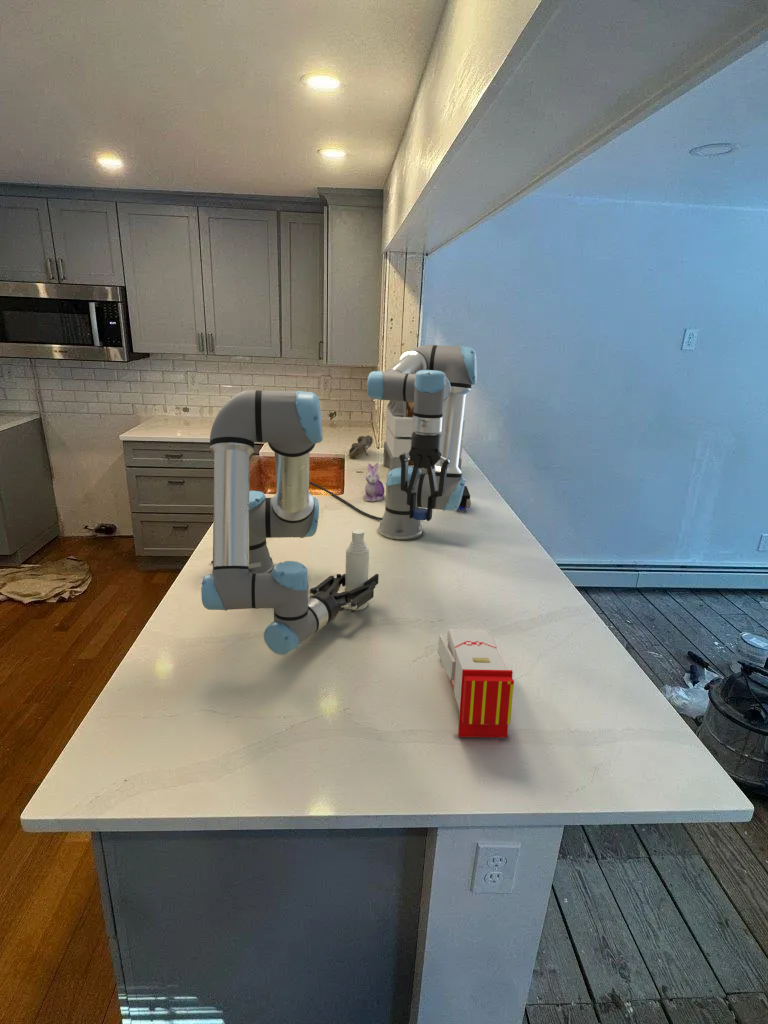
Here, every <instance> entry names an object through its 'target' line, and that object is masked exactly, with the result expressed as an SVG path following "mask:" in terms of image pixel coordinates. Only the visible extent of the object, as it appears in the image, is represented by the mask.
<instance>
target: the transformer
mask: <svg viewBox="0 0 768 1024" xmlns="http://www.w3.org/2000/svg"><path fill="white" fill-rule="evenodd" d="M388 401H389V402H388V404H387V405H386V413H385V414H386V415H385V423H386V428H385V438H384V442H383V466H384V467H388V468H389V472H390V471H391V470H393V469H396V468H401V461H400V458H399V456H400V455H401V454H403V453H409V451H410V449H411V440H412V433H413V432H414V431H413V430H412V425H413V411H414V402H404V401H390V400H388ZM464 429H465V419H464V418H463V425H462V435H461V444H460V454H459V463H458V468H459V469H460V470H461V471H462V461H463V460H462V453H463V442H464V441H463V440H462V439H463V438H464V431H465V430H464ZM413 466H414V463H413V461H412V459H411V457H409V460H408V467H413Z"/></svg>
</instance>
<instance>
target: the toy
mask: <svg viewBox="0 0 768 1024" xmlns="http://www.w3.org/2000/svg"><path fill="white" fill-rule="evenodd" d="M446 640H447V643H446V641H445V639H444V636H443V635H442V634H439V637H438V646H437V656H438V657H439V659H440V661H441V663H442V666H443V668H444V670H445V672H446V674H447V677H448V679H449V681H450V684H451V687H452V690H453V693H454V697H455V701H456V705H457V708H458V711H459V714H458V715H459V716H458V730H457V731H458V732H457V737H458V738H508V731H509V726H510V725H511V717H512V707H513V697H514V696H513V695H514V684H515V680H514V679H513V673H514V671H513V670H512V669H508V667H507V665H506V662H505V661H504V659H503V658H502V655H501V653H500V651H499V649H498V647H497V643H496V639H495V637H494V635H493V634H491V632H490V631H489V629H467V628H466V629H465V628H463V629H461V628H460V629H459V628H448V630H447V639H446Z"/></svg>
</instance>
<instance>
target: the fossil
mask: <svg viewBox="0 0 768 1024" xmlns="http://www.w3.org/2000/svg"><path fill="white" fill-rule="evenodd" d="M373 443H374V442H373V437H372V436H371V435H366V436H365V435H361V436H358V437H357V442H353V443H352V444H351V447H350V448H349V450H348V457H349V459H353V460H354V459H356V458H358V457H360V456H361V455H363V454H366V456H368V455H369V454H368V452H367V450H368V449H369V448H371V446H372V444H373Z"/></svg>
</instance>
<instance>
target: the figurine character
mask: <svg viewBox="0 0 768 1024" xmlns="http://www.w3.org/2000/svg"><path fill="white" fill-rule="evenodd" d="M471 501H472V500H471V494H470V491H469V488H468V486H467V485H465V487H464V491H463V495H462V499H461V502H460V505H459V507H458V509H457V510H456V511H457V512H460V510H463V511H464V513H466V512H467V509H470V508H471V505H472V504H471ZM466 508H467V509H466Z"/></svg>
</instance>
